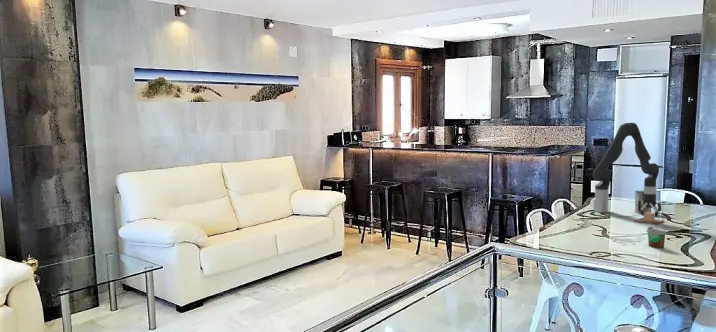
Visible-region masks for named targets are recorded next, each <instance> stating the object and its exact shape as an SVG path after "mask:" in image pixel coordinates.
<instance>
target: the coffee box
mask: <svg viewBox="0 0 716 332" xmlns="http://www.w3.org/2000/svg"><path fill="white" fill-rule="evenodd" d="M634 192H635V193H634V194H635V195H634V199H635V200H634V213H636V214H638V215H641V210H640V209H638V202H639V200H642V201H643V200H644V190H635V191H634ZM643 206H644V203H642V206H641V208H642V207H643ZM646 212H649V213H652V208H647V207H646V208H645V209H644V213H646Z"/></svg>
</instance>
